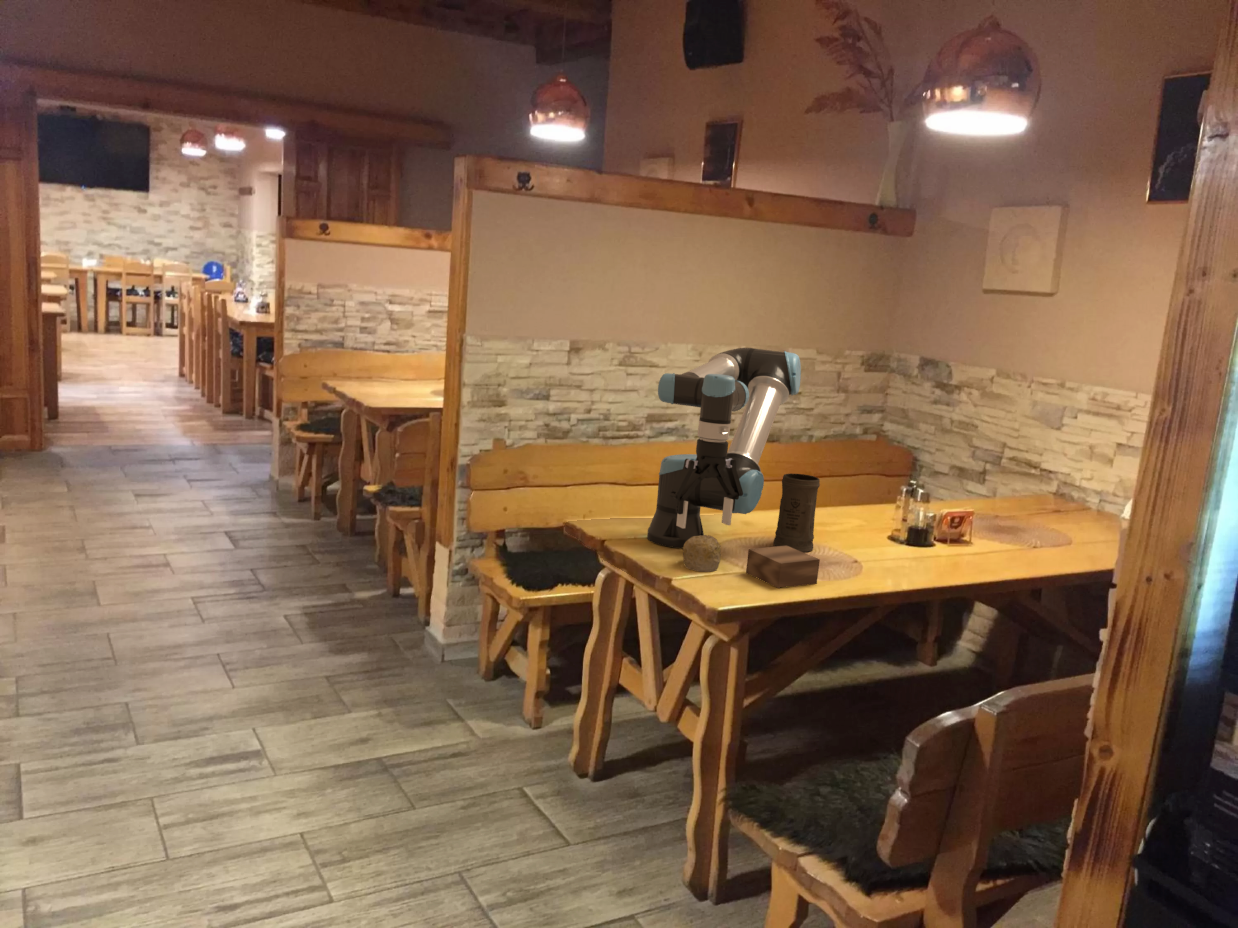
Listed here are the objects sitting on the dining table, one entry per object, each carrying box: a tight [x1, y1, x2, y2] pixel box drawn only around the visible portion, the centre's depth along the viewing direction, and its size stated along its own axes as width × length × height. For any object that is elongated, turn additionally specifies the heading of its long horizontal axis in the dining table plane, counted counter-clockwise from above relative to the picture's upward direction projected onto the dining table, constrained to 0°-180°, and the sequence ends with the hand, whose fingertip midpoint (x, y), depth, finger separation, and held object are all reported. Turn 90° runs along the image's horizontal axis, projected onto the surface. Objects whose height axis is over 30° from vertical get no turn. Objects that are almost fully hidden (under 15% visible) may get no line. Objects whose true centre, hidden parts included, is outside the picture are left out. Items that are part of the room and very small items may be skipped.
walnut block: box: [745, 546, 821, 589], centre depth 234 cm, size 12×12×6 cm
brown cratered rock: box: [682, 534, 721, 573], centre depth 238 cm, size 9×9×8 cm
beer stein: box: [772, 473, 821, 553], centre depth 264 cm, size 15×11×20 cm
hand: (703, 525), depth 237 cm, fingers open, 13 cm apart
